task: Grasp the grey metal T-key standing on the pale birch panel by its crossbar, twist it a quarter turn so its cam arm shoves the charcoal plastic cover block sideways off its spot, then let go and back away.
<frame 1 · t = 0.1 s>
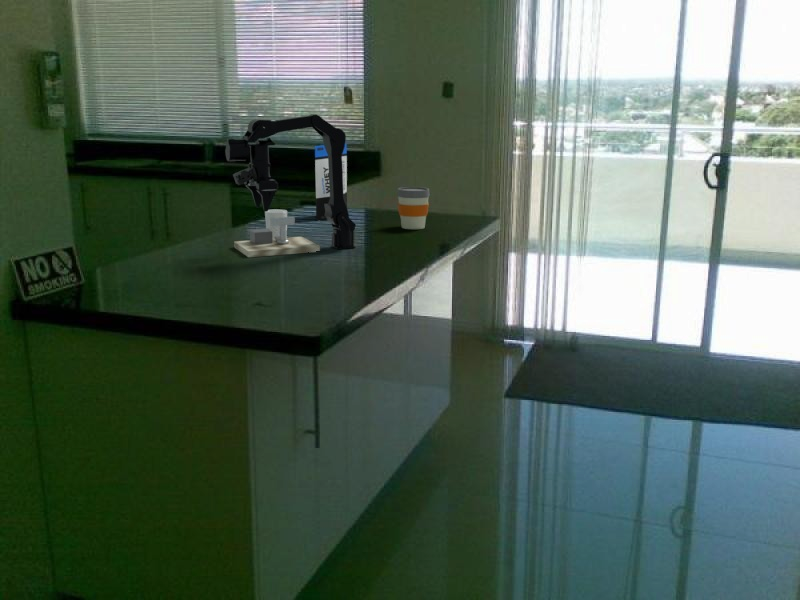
hand: (261, 209, 255), 14 cm above the countertop, fingers open, 9 cm apart
protein powder: (332, 217, 334), on the countertop
panel: (276, 249, 266), on the countertop
cover: (261, 242, 267), point 2 cm above the countertop, touching panel
reusable coffee cup: (413, 227, 311), on the countertop
white cup: (276, 239, 285), on the countertop
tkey: (283, 243, 265), point 2 cm above the countertop, hinge at 0.0°
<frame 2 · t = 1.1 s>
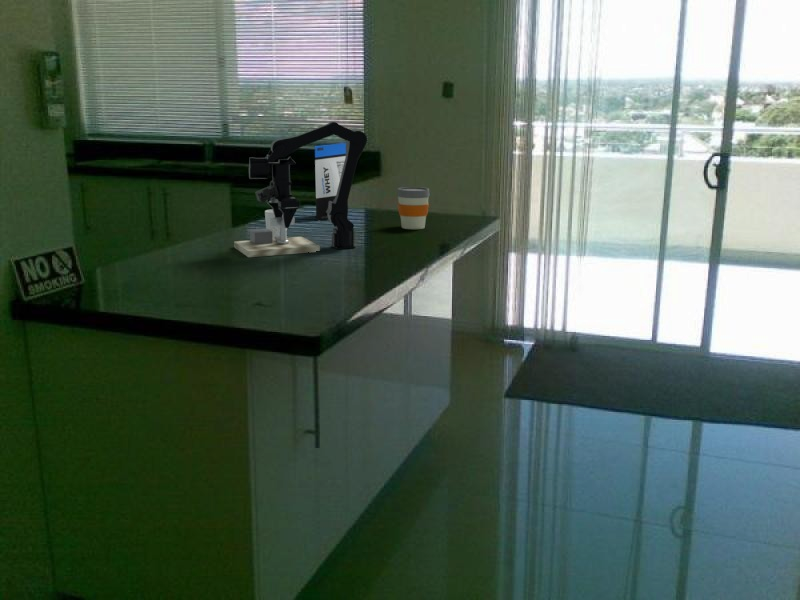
hand: (282, 225, 263), 8 cm above the countertop, fingers open, 9 cm apart
nothing on the countertop moved.
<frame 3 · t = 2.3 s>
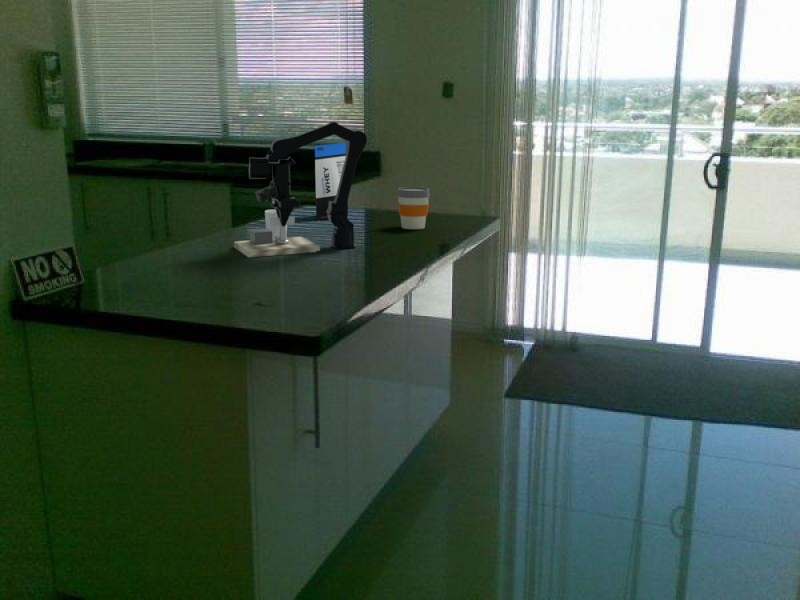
hand: (282, 225, 263), 8 cm above the countertop, fingers closed on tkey, 2 cm apart
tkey: (283, 243, 265), point 2 cm above the countertop, hinge at 0.0°, touching gripper
everything else where it was.
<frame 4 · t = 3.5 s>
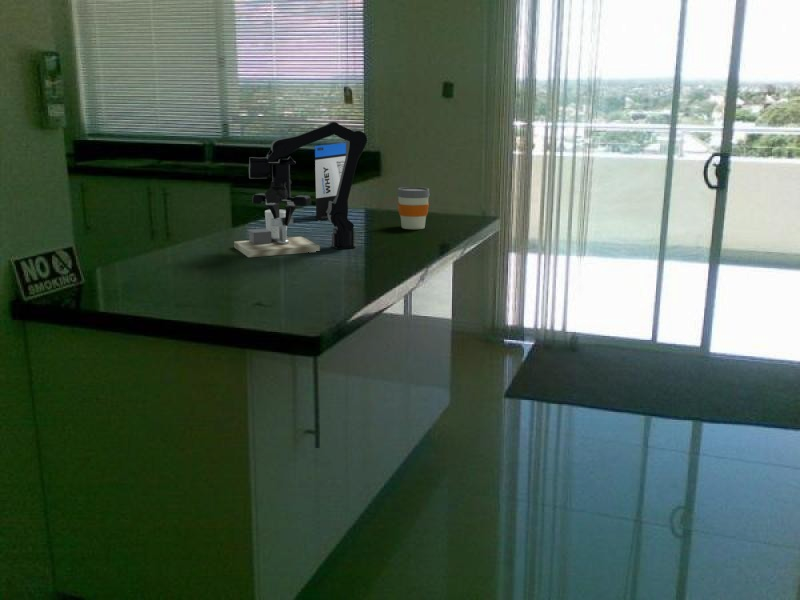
hand: (282, 225, 263), 8 cm above the countertop, fingers closed on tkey, 3 cm apart
cover: (260, 242, 267), point 2 cm above the countertop, touching panel, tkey
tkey: (283, 243, 265), point 2 cm above the countertop, hinge at 22.5°, touching cover, gripper
everything else where it was.
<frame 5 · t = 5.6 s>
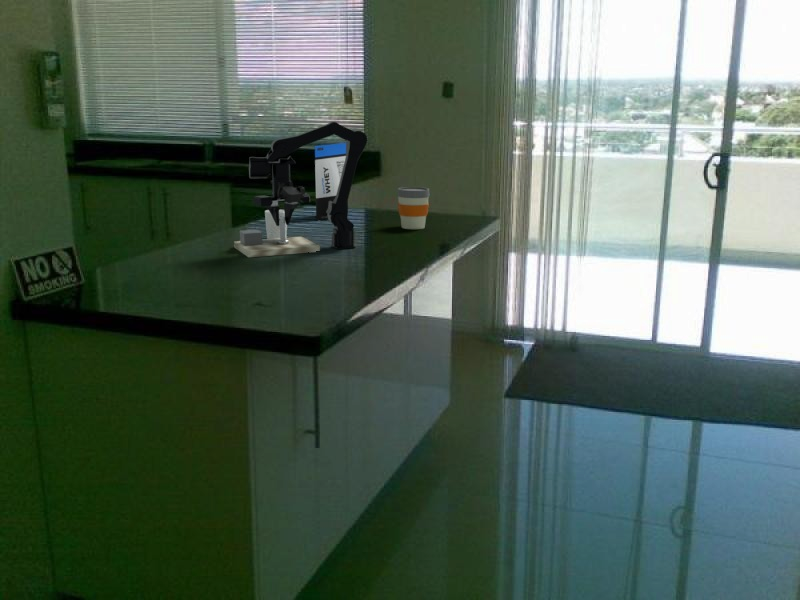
hand: (282, 225, 263), 8 cm above the countertop, fingers closed on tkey, 3 cm apart
cover: (251, 243, 265), point 2 cm above the countertop, touching panel
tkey: (283, 243, 265), point 2 cm above the countertop, hinge at 70.0°, touching gripper
everything else where it was.
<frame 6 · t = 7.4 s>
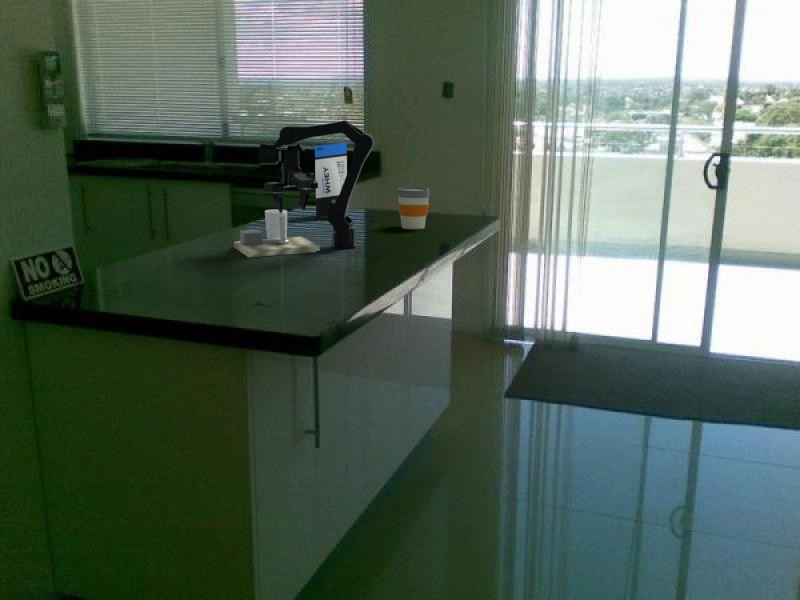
hand: (292, 211, 269), 12 cm above the countertop, fingers open, 9 cm apart
cover: (251, 243, 265), point 2 cm above the countertop, touching panel, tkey
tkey: (283, 243, 265), point 2 cm above the countertop, hinge at 70.8°, touching cover
everything else where it was.
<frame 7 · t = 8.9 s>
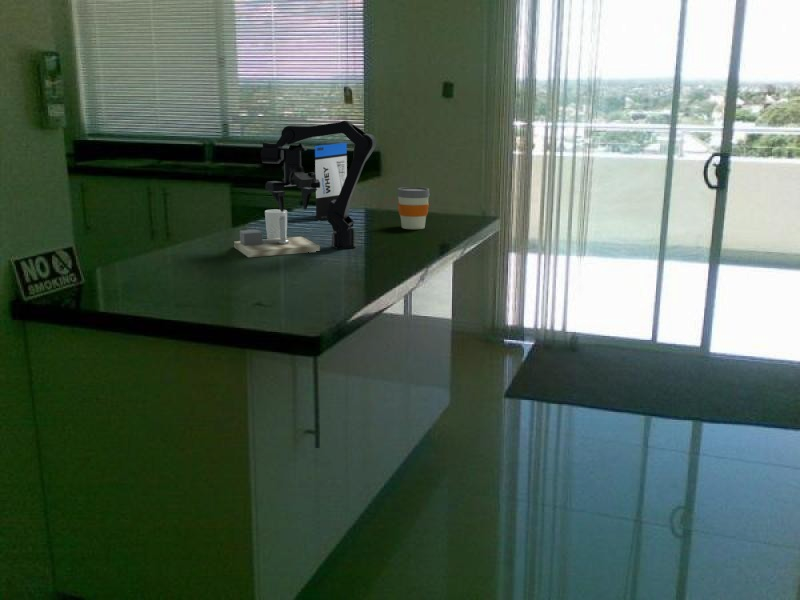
hand: (293, 210, 270), 12 cm above the countertop, fingers open, 9 cm apart
nothing on the countertop moved.
at the end: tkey at +71° (first picture: +0°); cover moved 3.7 cm from its start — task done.
